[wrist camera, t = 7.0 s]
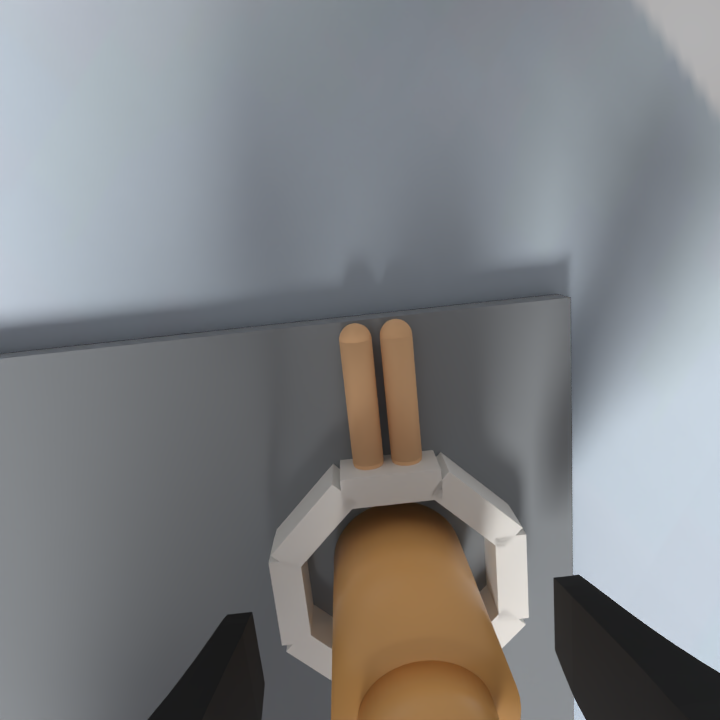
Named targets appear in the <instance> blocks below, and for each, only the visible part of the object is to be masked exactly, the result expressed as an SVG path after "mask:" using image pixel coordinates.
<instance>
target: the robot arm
mask: <svg viewBox="0 0 720 720" xmlns="http://www.w3.org/2000/svg"><path fill="white" fill-rule="evenodd" d="M553 583H554V634H555V652H556V654H557V657H558V660H559V662H560V665H561V667H562V670H563V672H564V675H565V677H566V680H567V682H568V684H569V687H570V689H571V692H572V694H573V696H574V698H575V700H576V702H577V704H578V706H579V708H580V709H581V711H582V713H583V715H584V717H585V719H586V720H720V673H719V672H717V671H716V670H714V669H712V668H711V667H709V666H707V665H706V664H704V663H702V662H701V661H699V660H698V659H696V658H695V657H693V656H692V655H690V654H689V653H687V652H685V651H684V650H682V649H681V648H679V647H678V646H676V645H675V644H673V643H672V642H670V641H669V640H667V639H666V638H664V637H663V636H661V635H660V634H658V633H657V632H656V631H654V630H653V629H651V628H650V627H649V626H647V625H646V624H644V623H643V622H642V621H640V620H639V619H637V618H636V617H635V616H633V615H632V614H631V613H629V612H628V611H627V610H625V609H624V608H622V607H621V606H620V605H618V604H617V603H616V602H614V601H613V600H612V599H611V598H609V597H608V596H607V595H605V594H604V593H603V592H601V591H600V590H599V589H597V588H596V587H595V586H593V585H592V584H591V583H589V582H588V581H587V580H585V579H584V578H583V577H581V576H580V575H573V576H564V577H555V578H553ZM264 688H265V681H264V675H263V669H262V664H261V658H260V652H259V647H258V641H257V635H256V629H255V624H254V618H253V612H246V613H237V614H228V615H226V616H225V618H224V619H223V620H222V621H221V623H220V624H219V626H218V627H217V628H216V630H215V631H214V633H213V634H212V636H211V637H210V638H209V640H208V641H207V643H206V644H205V646H204V647H203V648H202V650H201V651H200V653H199V654H198V655H197V657H196V658H195V659H194V661H193V662H192V664H191V665H190V666H189V668H188V669H187V670H186V672H185V673H184V674H183V676H182V677H181V678H180V680H179V681H178V682H177V684H176V685H175V686H174V687H173V689H172V690H171V691H170V693H169V694H168V695H167V696H166V698H165V699H164V700H163V701H162V702H161V704H160V705H159V706H158V707H157V708H156V710H155V711H154V712H153V713H152V715H151V716H150V717H149V718H148V719H147V720H262V710H263V699H264Z"/></svg>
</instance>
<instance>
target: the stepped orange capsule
mask: <svg viewBox="0 0 720 720" xmlns="http://www.w3.org/2000/svg"><path fill="white" fill-rule="evenodd" d="M520 719H521V702H520V696H519V692H518V689H517V686H516V683H515V681H514V678H513V676H512V673H511V671H510V668H509V666H508V663H507V661H506V658H505V656H504V653H503V650H502V648H501V645H500V643H499V640H498V638H497V635H496V633H495V630H494V628H493V625H492V623H491V620H490V617H489V615H488V612H487V610H486V607H485V605H484V602H483V600H482V597H481V595H480V592H479V590H478V587H477V584H476V582H475V579H474V577H473V574H472V572H471V569H470V567H469V564H468V562H467V559H466V557H465V554H464V552H463V549H462V546H461V544H460V541H459V539H458V537H457V534H456V532H455V530H454V529H453V527H452V526H451V524H450V523H449V522H448V521H447V520H446V519H445V518H444V517H443V516H442V515H440V514H439V513H438V512H436V511H434V510H433V509H431V508H429V507H427V506H424V505H421V504H418V503H413V502H411V503H402V504H393V505H384V506H375V507H371V508H369V509H367V510H365V511H364V512H362V513H360V514H359V515H358V516H356V517H355V518H354V519H353V520H352V521H351V522H350V523H349V524H348V525H347V526H346V528H345V529H344V530H343V532H342V533H341V535H340V537H339V539H338V542H337V544H336V548H335V553H334V582H333V635H332V688H331V720H520Z"/></svg>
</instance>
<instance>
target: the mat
mask: <svg viewBox="0 0 720 720" xmlns="http://www.w3.org/2000/svg"><path fill="white" fill-rule="evenodd" d="M411 502H413V503H418V504H421V505H424V506H427V507H429V508H431V509H433V510H434V511H436V512H438V513H439V514H440V515H442V516H443V517H444V518H445V519H446V520H447V521H448V522H449V523H450V524H451V526H452V527H453V529H454V530H455V532H456V534H457V537H458V539H459V541H460V544H461V546H462V549H463V552H464V554H465V557H466V559H467V562H468V564H469V567H470V569H471V572H472V574H473V577H474V579H475V582H476V584H477V587H478V590H479V592H480V595H481V597H482V600H483V602H484V605H485V607H486V610H487V612H488V615H489V617H490V620H491V623H492V625H493V628H494V630H495V633H496V635H497V638H498V640H499V643H500V645H501V648H502V650H503V653H504V656H505V658H506V661H507V663H508V666H509V668H510V671H511V673H512V676H513V678H514V681H515V683H516V686H517V689H518V692H519V696H520V702H521V719H520V720H574V696H573V694H572V692H571V689H570V687H569V684H568V682H567V680H566V677H565V675H564V672H563V670H562V667H561V665H560V662H559V660H558V657H557V654H556V652H555V634H554V583H553V578H555V577H564V576H573V546H572V413H571V298H570V297H567V296H563V295H559V294H554V295H544V296H535V297H526V298H516V299H507V300H498V301H488V302H479V303H470V304H460V305H451V306H442V307H432V308H423V309H414V310H404V311H395V312H386V313H376V314H367V315H358V316H348V317H339V318H330V319H320V320H311V321H302V322H292V323H283V324H274V325H264V326H255V327H246V328H236V329H227V330H218V331H208V332H199V333H190V334H180V335H171V336H162V337H152V338H143V339H134V340H124V341H115V342H106V343H96V344H87V345H78V346H68V347H59V348H50V349H40V350H31V351H22V352H12V353H3V354H0V720H147V719H148V718H149V717H150V716H151V715H152V713H153V712H154V711H155V710H156V708H157V707H158V706H159V705H160V704H161V702H162V701H163V700H164V699H165V698H166V696H167V695H168V694H169V693H170V691H171V690H172V689H173V687H174V686H175V685H176V684H177V682H178V681H179V680H180V678H181V677H182V676H183V674H184V673H185V672H186V670H187V669H188V668H189V666H190V665H191V664H192V662H193V661H194V659H195V658H196V657H197V655H198V654H199V653H200V651H201V650H202V648H203V647H204V646H205V644H206V643H207V641H208V640H209V638H210V637H211V636H212V634H213V633H214V631H215V630H216V628H217V627H218V626H219V624H220V623H221V621H222V620H223V619H224V618H225V616H226V615H228V614H237V613H246V612H253V618H254V624H255V629H256V635H257V641H258V647H259V652H260V658H261V664H262V669H263V675H264V681H265V688H264V699H263V710H262V720H331V688H332V635H333V582H334V553H335V548H336V544H337V542H338V539H339V537H340V535H341V533H342V532H343V530H344V529H345V528H346V526H347V525H348V524H349V523H350V522H351V521H352V520H353V519H354V518H355V517H356V516H358V515H359V514H360V513H362V512H364V511H365V510H367V509H369V508H371V507H375V506H384V505H393V504H402V503H411Z"/></svg>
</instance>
